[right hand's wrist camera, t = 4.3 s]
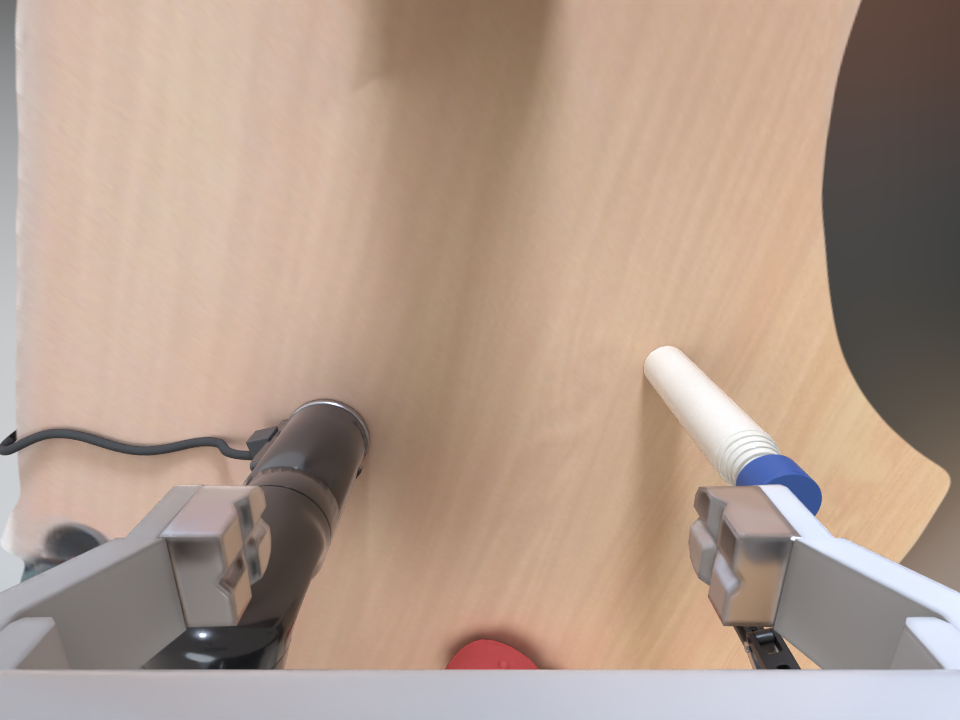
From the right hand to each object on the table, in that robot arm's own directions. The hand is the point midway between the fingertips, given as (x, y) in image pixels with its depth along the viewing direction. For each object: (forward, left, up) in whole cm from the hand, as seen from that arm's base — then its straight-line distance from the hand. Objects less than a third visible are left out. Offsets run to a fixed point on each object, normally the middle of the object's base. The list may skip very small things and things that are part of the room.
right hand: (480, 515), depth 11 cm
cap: (+15, +20, -25) cm, 35 cm away
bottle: (+15, +20, -48) cm, 54 cm away
